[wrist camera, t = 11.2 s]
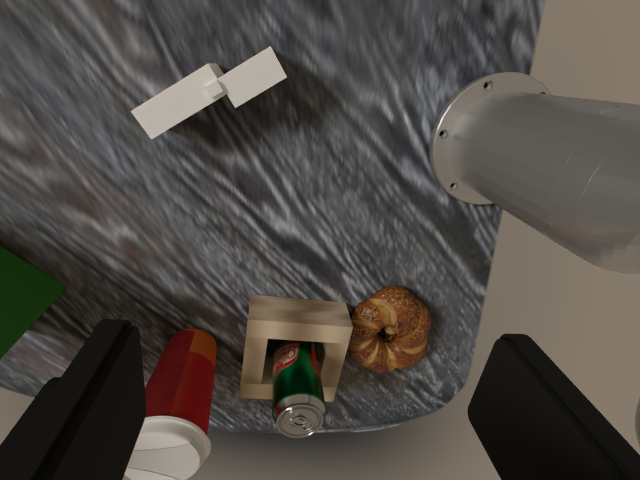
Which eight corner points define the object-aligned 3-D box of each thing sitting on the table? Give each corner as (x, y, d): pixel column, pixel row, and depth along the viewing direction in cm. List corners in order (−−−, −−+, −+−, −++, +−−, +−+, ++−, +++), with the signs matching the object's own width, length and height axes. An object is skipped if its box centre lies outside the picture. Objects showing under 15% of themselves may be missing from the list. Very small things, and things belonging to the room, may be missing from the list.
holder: (345, 302, 43) (352, 327, 39) (328, 373, 47) (333, 401, 43) (250, 294, 41) (248, 319, 37) (242, 368, 45) (238, 398, 41)
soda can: (291, 311, 43) (297, 394, 32) (323, 332, 44) (338, 417, 34) (264, 338, 44) (260, 427, 33) (296, 358, 46) (302, 448, 35)
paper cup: (155, 366, 44) (107, 487, 31) (162, 315, 41) (112, 426, 28) (221, 374, 46) (201, 492, 33) (232, 325, 43) (215, 434, 30)
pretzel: (352, 278, 42) (359, 295, 39) (439, 286, 44) (453, 304, 41) (332, 358, 47) (337, 380, 43) (412, 363, 49) (422, 384, 45)
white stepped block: (137, 144, 33) (112, 158, 28) (133, -1, 29) (103, -15, 24) (299, 168, 36) (303, 185, 31) (320, 39, 31) (329, 34, 26)
